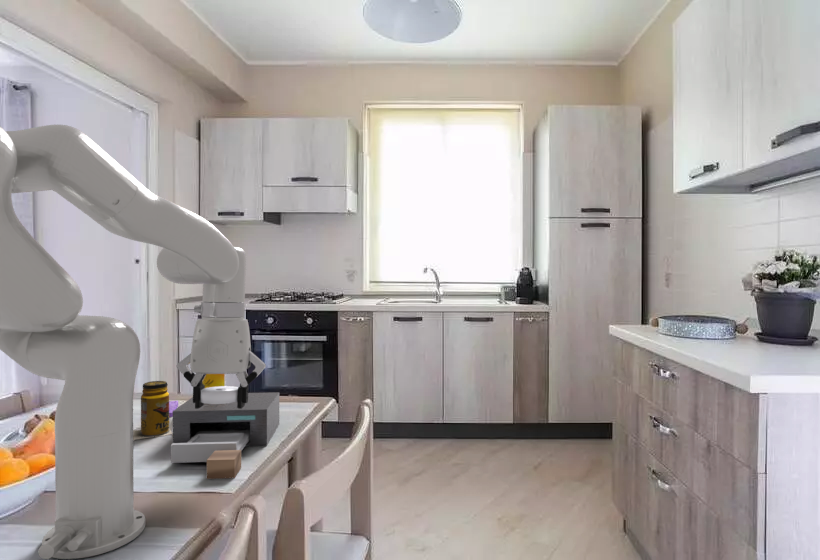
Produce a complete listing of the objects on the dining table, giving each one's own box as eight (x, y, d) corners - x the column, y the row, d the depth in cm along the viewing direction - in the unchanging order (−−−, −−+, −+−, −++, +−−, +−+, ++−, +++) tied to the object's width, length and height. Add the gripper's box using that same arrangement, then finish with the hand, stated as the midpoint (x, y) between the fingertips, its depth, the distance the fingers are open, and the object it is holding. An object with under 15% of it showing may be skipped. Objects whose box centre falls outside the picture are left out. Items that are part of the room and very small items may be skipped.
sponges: (178, 406, 145) (178, 400, 145) (173, 418, 133) (173, 411, 133) (151, 408, 143) (151, 402, 143) (143, 421, 131) (143, 414, 131)
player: (266, 445, 111) (266, 409, 111) (172, 448, 109) (172, 411, 109) (279, 424, 127) (279, 392, 127) (197, 425, 125) (197, 393, 125)
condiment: (173, 434, 119) (172, 383, 119) (132, 441, 114) (131, 388, 114) (168, 426, 125) (168, 378, 125) (129, 432, 120) (129, 382, 120)
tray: (236, 460, 99) (236, 443, 99) (170, 462, 98) (170, 444, 98) (254, 435, 115) (254, 419, 115) (198, 436, 114) (197, 421, 114)
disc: (235, 404, 91) (235, 392, 91) (195, 404, 91) (195, 392, 91) (244, 396, 98) (244, 386, 98) (207, 396, 98) (207, 386, 98)
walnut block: (234, 478, 93) (234, 459, 93) (206, 479, 93) (206, 460, 93) (241, 467, 98) (241, 449, 98) (214, 468, 98) (214, 450, 98)
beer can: (201, 409, 141) (201, 355, 140) (225, 406, 143) (224, 354, 143) (202, 414, 135) (202, 358, 135) (227, 412, 138) (226, 357, 137)
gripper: (167, 311, 91) (164, 411, 90) (266, 313, 92) (263, 411, 91) (182, 310, 98) (179, 402, 97) (274, 312, 99) (271, 402, 99)
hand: (220, 406), depth 94 cm, fingers closed on disc, 7 cm apart
